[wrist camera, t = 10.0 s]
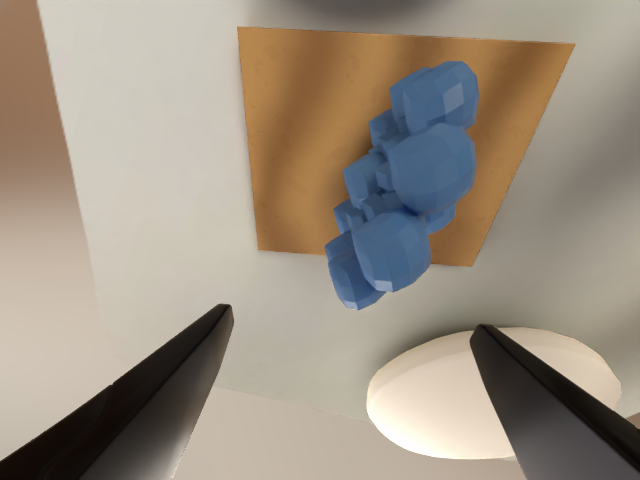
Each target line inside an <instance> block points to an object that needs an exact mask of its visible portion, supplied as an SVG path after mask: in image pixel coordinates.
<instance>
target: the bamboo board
mask: <svg viewBox="0 0 640 480" xmlns="http://www.w3.org/2000/svg"><path fill="white" fill-rule="evenodd" d="M237 30H238V40H239V51H240V62H241V72H242V83H243V93H244V104H245V114H246V125H247V136H248V146H249V157H250V167H251V178H252V189H253V199H254V210H255V220H256V231H257V242H258V250H264V251H276V252H289V253H302V254H315V255H326V251H325V245H326V244H327V243H329V242H330V241H331V240H333V239H334V238H336V237H337V236H339V235H341V233H340V231H339V228H338V225H337V222H336V219H335V215H334V211H333V209H334V208H335V207H337V206H338V205H339V204H341V203H342V202H344V201H346V200H347V199H349V198H350V197H349V195H348V192H347V188H346V184H345V180H344V175H343V169H345V168H346V167H348V166H349V165H350V164H352V163H353V162H355V161H356V160H358V159H359V158H361V157H362V156H364V155H367V154H369V153H368V151H369V150H370V149H371V148H373V147H374V146H373V144H372V141H371V136H370V130H369V124H368V122H369V121H371V120H372V119H373V118H375V117H376V116H378V115H379V114H381V113H382V112H384V111H386V110H388V109H390V108H392V107H391V100H390V89H389V88H390V87H391V86H393V85H394V84H395V83H397V82H398V81H400V80H401V79H403V78H404V77H406V76H408V75H409V74H411V73H413V72H415V71H417V70H419V69H421V68H423V67H431V68H434V67H436V66H438V65H440V64H442V63H444V62H446V61H464V62H465V63H466V64H467V65H468V66H469V67H470V68H471V69H472V71H473V72H474V73H475V74H476V75H477V80H478V88H479V102H478V110H477V116H476V121H475V123H474V124H473V125H472V126H471V127H469V128H468V129H467V130H465V131H466V132H467V133H468V135H469V136H470V137H471V139H472V140H473V142H474V146H475V153H476V161H477V167H476V173H475V180H474V184H473V187H472V189H471V190H470V191H469V192H468V193H467V194H466V195H465V196H463V197H462V198H461V199H460V200H459V201H458V202H457V203H456V211H455V217H454V218H453V220H452V221H451V222H450V223H448V224H447V225H446V226H445V227H444V228H443V229H441V230H439V231H437V232H435V233H433V234H428V237H429V243H430V249H431V264H442V265H455V266H468V267H472V265H473V263H474V261H475V259H476V256H477V254H478V252H479V250H480V248H481V246H482V244H483V241H484V239H485V237H486V235H487V233H488V231H489V229H490V226H491V224H492V222H493V220H494V218H495V216H496V214H497V211H498V209H499V207H500V205H501V203H502V201H503V199H504V196H505V194H506V192H507V190H508V188H509V186H510V184H511V181H512V179H513V177H514V175H515V173H516V171H517V169H518V166H519V164H520V162H521V160H522V158H523V156H524V154H525V151H526V149H527V147H528V145H529V143H530V141H531V139H532V136H533V134H534V132H535V130H536V128H537V126H538V123H539V121H540V119H541V117H542V115H543V113H544V111H545V108H546V106H547V104H548V102H549V100H550V98H551V96H552V93H553V91H554V89H555V87H556V85H557V83H558V81H559V78H560V76H561V74H562V72H563V70H564V68H565V66H566V63H567V61H568V59H569V57H570V55H571V53H572V51H573V48H574V46H575V44H574V43H554V42H534V41H514V40H494V39H475V38H455V37H435V36H415V35H395V34H375V33H355V32H335V31H316V30H296V29H276V28H256V27H237Z"/></svg>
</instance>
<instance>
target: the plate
mask: <svg viewBox="0 0 640 480" xmlns="http://www.w3.org/2000/svg"><path fill="white" fill-rule="evenodd" d="M497 329H498V330H500V331H501V332H503V333H504V334H505V335H507V336H508V337H510V338H511V339H512V340H514V341H515V342H517V343H518V344H520V345H521V346H522V347H524V348H525V349H527V350H528V351H530V352H531V353H532V354H534V355H535V356H537V357H538V358H539V359H541V360H542V361H544V362H545V363H547V364H548V365H549V366H551V367H552V368H554V369H555V370H556V371H558V372H559V373H561V374H562V375H564V376H565V377H566V378H568V379H569V380H571V381H572V382H573V383H575V384H576V385H578V386H579V387H581V388H582V389H583V390H585V391H586V392H588V393H589V394H590V395H592V396H593V397H595V398H596V399H598V400H599V401H600V402H602V403H603V404H605V405H606V406H608V407H609V408H610V409H612V410H613V411H614V410H615V408H616V406H617V404H618V403H619V401H620V399H621V384H620V382H619V381H618V379H617V378H616V377H615V375H614V374H613V372H612V371H611V369H610V368H609V366H608V365H607V364H606V362H605V361H604V359H603V358H602V357H601V356H600V355H599V354H598V353H596V352H595V351H593V350H592V349H590V348H589V347H587V346H586V345H584V344H582V343H581V342H579V341H577V340H576V339H573V338H570V337H567V336H564V335H560V334H557V333H554V332H551V331H548V330H540V329H533V328H525V327H510V328H497ZM473 332H474V330H472V331H464V332H459V333H455V334H451V335H447V336H443V337H439V338H436V339H433V340H431V341H429V342H426V343H424V344H422V345H419V346H417V347H414V348H412V349H410V350H408V351H406V352H404V353H403V354H401V355H399V356H397V357H396V358H394V359H392V360H391V361H390V362H388V363H387V364H386V365H384V366H383V367H382V368H381V369H379V370H378V371H377V372H376V373H375V375H374V376H373V378H372V379H371V381H370V382H369V387H368V395H367V411H368V415H369V417H370V418H371V420H372V421H373V422H374V424H375V425H376V426H377V428H378V429H379V430H380V431H381V433H383V434H384V435H385V436H386V437H387V438H388V439H390V440H391V441H393V442H394V443H396V444H398V445H399V446H401V447H403V448H405V449H407V450H410V451H413V452H416V453H420V454H424V455H429V456H433V457H443V458H452V459H488V458H502V457H509V456H516V455H515V453H514V451H513V449H512V446H511V444H510V442H509V440H508V438H507V435H506V433H505V431H504V429H503V427H502V425H501V422H500V420H499V418H498V416H497V414H496V411H495V409H494V407H493V405H492V403H491V401H490V398H489V396H488V394H487V391H486V389H485V386H484V384H483V381H482V378H481V375H480V373H479V370H478V367H477V364H476V361H475V358H474V356H473V353H472V350H471V347H470V343H469V342H470V337H471V336H472V334H473Z"/></svg>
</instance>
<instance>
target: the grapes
mask: <svg viewBox="0 0 640 480" xmlns="http://www.w3.org/2000/svg"><path fill="white" fill-rule="evenodd" d="M389 89H390V100H391V107H392V108H390V109H388V110H386V111H384V112H382V113H381V114H379V115H378V116H376V117H375V118H373V119H372V120H371V121H369V122H368V124H369V130H370V136H371V141H372V144H373V146H374V147H373V148H371V149H370V150H369V151H368V153H369V154H367V155H364V156H362V157H361V158H359V159H358V160H356V161H355V162H353V163H352V164H350V165H349V166H348V167H346V168H345V169H343V175H344V180H345V184H346V188H347V192H348V195H349V197H350V198H349V199H347V200H346V201H344V202H342V203H341V204H339V205H338V206H337V207H335V208H334V209H333V211H334V215H335V219H336V222H337V225H338V228H339V231H340V233H341V235H339V236H337V237H336V238H334V239H333V240H331V241H330V242H329V243H327V244H326V245H325V251H326V255H327V259H328V261H329V263H328V266H329V271H330V275H331V278H332V281H333V284H334V287H335V290H336V292H337V295H338V297H339V299H340V300H341V301H342V302H343V304H344V305H345V306H346V307H347V308H350V309H355V310H360V309H363V308H365V307H367V306H369V305H371V304H373V303H375V302H376V301H377V300H379V299H380V298H381V297H382V296H383V295H384V294H385V293H386V292H395V291H398V290H400V289H402V288H404V287H406V286H409V285H411V284H413V283H414V282H415V281H416V280H417V279H418V278H419V277H420V276H421V275H422V274H423V273H424V272H425V271H426V270H427V268H428V267H429V266H430V264H431V249H430V243H429V237H428V234H433V233H435V232H437V231H439V230H441V229H443V228H444V227H445V226H446V225H447V224H448V223H450V222H451V221H452V220H453V218H454V217H455V211H456V203H457V202H458V201H459V200H460V199H461V198H462V197H463V196H465V195H466V194H467V193H468V192H469V191H470V190H471V189H472V187H473V184H474V180H475V173H476V167H477V161H476V153H475V146H474V142H473V140H472V139H471V137H470V136H469V135H468V133H467V132H466V131H465V130H467V129H468V128H469V127H471V126H472V125H473V124H474V123H475V121H476V116H477V110H478V102H479V88H478V80H477V75H476V74H475V73H474V72H473V71H472V69H471V68H470V67H469V66H468V65H467V64H466V63H465V62H464V61H446V62H444V63H442V64H440V65H438V66H436V67H434V68H431V67H423V68H421V69H419V70H417V71H415V72H413V73H411V74H409V75H408V76H406V77H404V78H403V79H401V80H400V81H398V82H397V83H395V84H394V85H393V86H391V87H390V88H389Z"/></svg>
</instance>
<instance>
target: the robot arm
mask: <svg viewBox="0 0 640 480" xmlns="http://www.w3.org/2000/svg"><path fill="white" fill-rule="evenodd" d="M233 325H234V317H233V312H232V307H231V305H229V304H218V305H217V306H215V307H214V308H213V309H211V310H210V311H209V312H207V313H206V314H205V315H203V316H202V317H201V318H199V319H198V320H196V321H195V322H194V323H192V324H191V325H190V326H188V327H187V328H186V329H184V330H183V331H182V332H180V333H179V334H178V335H176V336H175V337H174V338H172V339H171V340H170V341H168V342H167V343H166V344H164V345H163V346H162V347H160V348H159V349H158V350H156V351H155V352H154V353H152V354H151V355H150V356H148V357H147V358H145V359H144V360H143V361H141V362H140V363H139V364H137V365H136V366H135V367H133V368H132V369H131V370H129V371H128V372H127V373H125V374H124V375H123V376H121V377H120V378H119V379H117V380H116V381H115V382H114V383H113V384H112V385H109V386H108V387H106V388H105V389H104V390H102V391H101V392H100V393H98V394H97V395H96V396H95V397H93V398H92V399H90V400H89V401H88V402H86V403H85V404H83V405H82V406H81V407H79V408H78V409H76V410H75V411H74V412H72V413H71V414H69V415H68V416H67V417H65V418H64V419H62V420H61V421H59V422H58V423H57V424H55V425H53V426H52V427H50V428H49V429H48V430H47V431H45V432H43V433H42V434H40V435H39V436H37V437H36V438H35V439H33V440H31V441H30V442H28V443H27V444H25V445H24V446H22V447H21V448H19V449H18V450H16V451H15V452H13V453H12V454H10V455H9V456H7V457H6V458H4V459H3V460H1V461H0V480H172V478H173V476H174V473H175V471H176V469H177V466H178V464H179V462H180V459H181V457H182V455H183V453H184V450H185V448H186V445H187V443H188V441H189V439H190V436H191V434H192V432H193V429H194V427H195V425H196V422H197V420H198V418H199V416H200V413H201V411H202V409H203V406H204V404H205V402H206V399H207V397H208V395H209V393H210V390H211V388H212V386H213V383H214V381H215V379H216V376H217V374H218V372H219V369H220V366H221V363H222V360H223V357H224V354H225V351H226V348H227V345H228V341H229V338H230V335H231V332H232V329H233ZM469 343H470V347H471V350H472V353H473V356H474V358H475V361H476V364H477V367H478V370H479V373H480V375H481V378H482V381H483V384H484V386H485V389H486V391H487V394H488V396H489V398H490V401H491V403H492V405H493V407H494V409H495V411H496V414H497V416H498V418H499V420H500V422H501V425H502V427H503V429H504V431H505V433H506V435H507V438H508V440H509V442H510V444H511V446H512V449H513V451H514V453H515V455H516V457H517V460H518V462H519V464H520V466H521V468H522V470H523V473H524V475H525V477H526V479H527V480H640V429H638V428H636V427H635V426H634V425H633V424H632V423H630V422H629V421H627V420H626V419H625V418H623V417H622V416H620V415H619V414H617V413H616V412H615V411H613V410H612V409H610V408H609V407H608V406H606V405H605V404H603V403H602V402H600V401H599V400H598V399H596V398H595V397H593V396H592V395H590V394H589V393H588V392H586V391H585V390H583V389H582V388H581V387H579V386H578V385H576V384H575V383H573V382H572V381H571V380H569V379H568V378H566V377H565V376H564V375H562V374H561V373H559V372H558V371H556V370H555V369H554V368H552V367H551V366H549V365H548V364H547V363H545V362H544V361H542V360H541V359H539V358H538V357H537V356H535V355H534V354H532V353H531V352H530V351H528V350H527V349H525V348H524V347H522V346H521V345H520V344H518V343H517V342H515V341H514V340H512V339H511V338H510V337H508V336H507V335H505V334H504V333H503V332H501V331H500V330H498V329H497V328H495V327H494V326H492V325H487V324H479V325H477V327H476V328H475V330H474V332H473V334H472V336H471V337H470V342H469Z"/></svg>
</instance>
